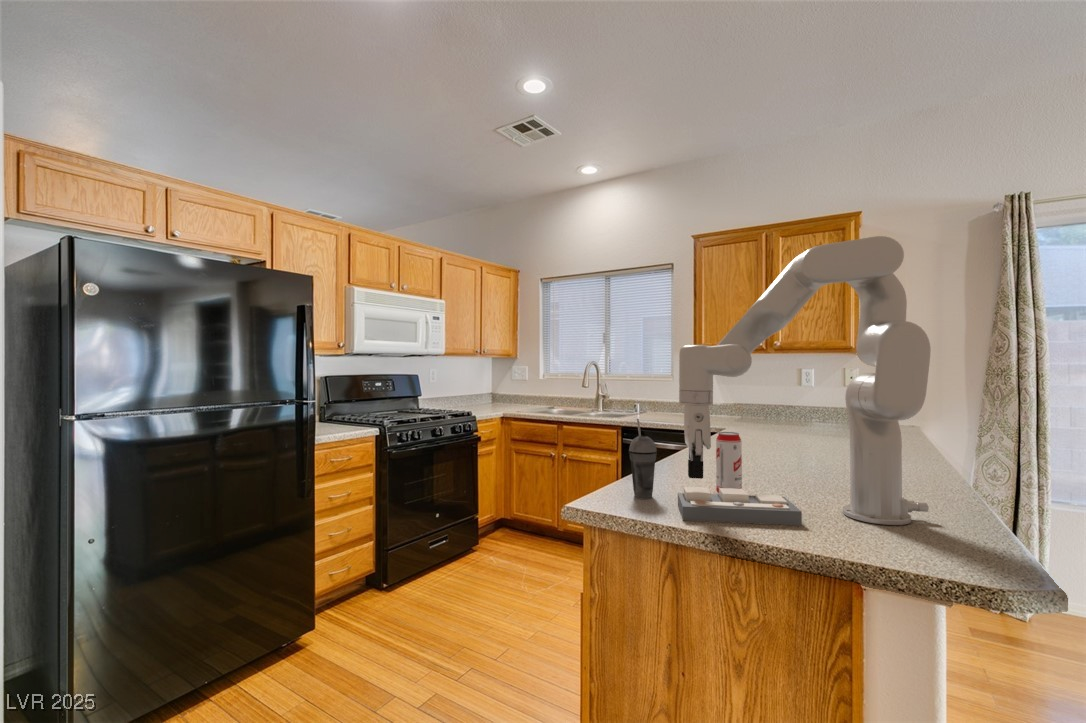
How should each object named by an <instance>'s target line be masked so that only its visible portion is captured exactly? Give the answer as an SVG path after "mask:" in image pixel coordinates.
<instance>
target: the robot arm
mask: <svg viewBox="0 0 1086 723" xmlns="http://www.w3.org/2000/svg"><path fill="white" fill-rule="evenodd" d="M904 257H905V251H904V248H903V247H902V244H901V243H900V242H899V241H897V240H896V239H894V238H892V237H889V236H883V235H877V236H875V235H874V236H869V237H863V238H857V239H851V240H845V241H840V242H839V241H838V242H832V243H831V242H830V243H824V244H820V245H816V246H813V247H810V248H808V249H807V250H805V251H803V252H802V253H800V254H798V255H797V256H796V257H794V259H792V260H791V261H790V262H789V263H788V264H787V266H785V268H784V269H783V270H782V272H781V271H780V272H781V273H780V274H779V275H778V276H777V277H776V278H775V280H773V281H772V283H771V284H770V285H769V286H768V288H766V290H764V291H763V293H762V294H761V296H759V298H758V299H757V300H756V301H755V302H754V303H753V305H751V306H750V307H749V308H748V310H747V311H746V312H745V313H744V315H743V316H742V317H741V318H740V319H739V320H738V321H737V322H736V323H735V324H734V325H733V326H732V327H731V329H730V330H729V331H728V332H727V333H726V334H725V335H724V337H722V339H721V340H720V341H719V342H718V343H717V344H716V345H706V344H691V345H690V344H687V345H683V346H682V347H681V348H680V349H679V356H678V357H679V360H678V362H679V363H678V364H679V366H678V368H679V371H678V372H679V373H678V376H679V378H678V384H679V387H678V393H679V394H678V395H679V396H678V402H679V403H678V405H680V406H681V405H682V406H683V410H684V411H683V413H684V414H683V415H684V416H683V421H684V422H683V428H684V430H683V431H684V432H683V434H684V444H686V446H687V447H688V459H687V476H688V478H689V479H697V480H698V479H700V480H702V479H703V478H704V447H705V448H706V449H707V450H710V449H711V448H712V440H711V439H712V438H711V437H712V436H711V414H710V412H711V411H710V407H709V406H713V405H714V376H716V375H717V376H722V377H728V378H737V377H740V376H743V375H744V374H746V373H747V372H748V371H749V370H750V368H751V366H752V362H753V361H752V360H753V359H752V355H751V354H752V353H753V352H754V351H755V350H756V349H757V348H758V347H759V346H760V345H761V344H763V342H764V341H766V340H767V339H768V338H770V337H771V336H773V335H774V334H776V333H778V332H780V331H781V330H783V329H784V328H785V327H786V326H788V324H789V323H790V322H791V321H792V320H794V318H795V317H796V316H797V314H799V312H800V311H801V310H802V309H803V307H805V306H806V304H807V303H808V301H809V300H811V299H812V297H813V296H814V295H815V294H816V293H817V292H818V291H819V290H820V288H822V287H825V286H826V285H830V284H831V285H832V284H838V283H846V284H848V285H849V286H850V287H851V288H852V289H853V290H854V291H855V293H856V294H857V296H858V299H859V306H860V308H859V318H858V319H859V321H858V330H857V338H856V348H855V349H856V351H855V352H856V355H857V357H858V358H859V360H860V361H861V362H862V363H863V364H865V365H868V366H871V367H874V368H875V372H869V373H863V374H860V375H857V376H856V377H854V379H852V380H850V382H849V383H848V385H847V388H846V389H845V390H846V391H845V395H844V396H845V397H844V398H845V400H844V401H845V406H846V412H847V417H848V426H849V478H850V479H849V480H850V482H849V484H850V485H849V488H850V496H849V497H850V504H846V505H843V507H842V514H843V515H844V516H847V517H849V518H850V519H854V520H855V521H856V520H857V521H860V522H864V523H869V524H876V525H885V526H904V525H908V524H910V523H912V515H911V513H912V512H918V513H923V512H924V513H927V512H929V508H930V507H929V505H928V503H927V502H917V501H916V502H915V501H914V500H908V499H906V498H904V497H903V462H902V461H903V459H902V458H903V456H902V454H903V452H902V450H903V449H902V448H903V447H902V446H903V445H902V444H903V442H902V439H903V438H902V429H901V427H900V422H899V421H906V420H909V419H911V418H913V417H915V416H916V415H917V414H918V413H919V412H920V411H921V410H922V408H923V406H924V404H925V401H926V395H927V389H928V382H929V381H928V380H929V370H930V363H931V343H930V339H929V337H928V334H927V333H926V331H925V330H924V329H923V328H922V327H921V326H919V325H918V324H916V323H914V322H911V321H907V308H908V304H907V302H908V301H907V295H906V291H905V287H904V286H903V284H902V283H901V281H900V279H899V278H898V277H897V276H896V275H895V274H894V273H895V272H896V271H897V270H899V268H900V267H901V266H902V264H903V262H904ZM909 513H910V514H909Z"/></svg>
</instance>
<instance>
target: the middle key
mask: <svg viewBox="0 0 1086 723" xmlns="http://www.w3.org/2000/svg"><path fill="white" fill-rule="evenodd" d="M718 494H719V498H720V500H721V501H722V502H741V503H749V495H750V494H749V493H748V492H747V491H746V490H745V489H744V488H742V489H734V488H719V493H718Z"/></svg>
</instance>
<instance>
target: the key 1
mask: <svg viewBox="0 0 1086 723" xmlns="http://www.w3.org/2000/svg"><path fill="white" fill-rule="evenodd" d="M683 493H684V499H685V501H709V502H711V494H712V493H711V491H710V489H709V487H704V486H702V487H701V486H699V487H697V486H683Z"/></svg>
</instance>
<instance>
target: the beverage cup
mask: <svg viewBox="0 0 1086 723" xmlns="http://www.w3.org/2000/svg"><path fill="white" fill-rule="evenodd" d="M636 424H637V431H638V435H637V436H636V437H634V438H633V439H632V440H631V441H630V445H629V447H628V448H629V449H628V454H629V460H630V466H631V476H632V478H631V479H632V487H633V494H634V498H636V499H640V500H646V499H647V500H648V499H651V498H653V492H654V478H655V466H656V465H655V464H656V461H657V453H658V450H657V446H656V444H655V441H654V440H653V438H651V437H650V436H646V435H642V434H641V433H642V432H641V425H640V419H639V418H636Z"/></svg>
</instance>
